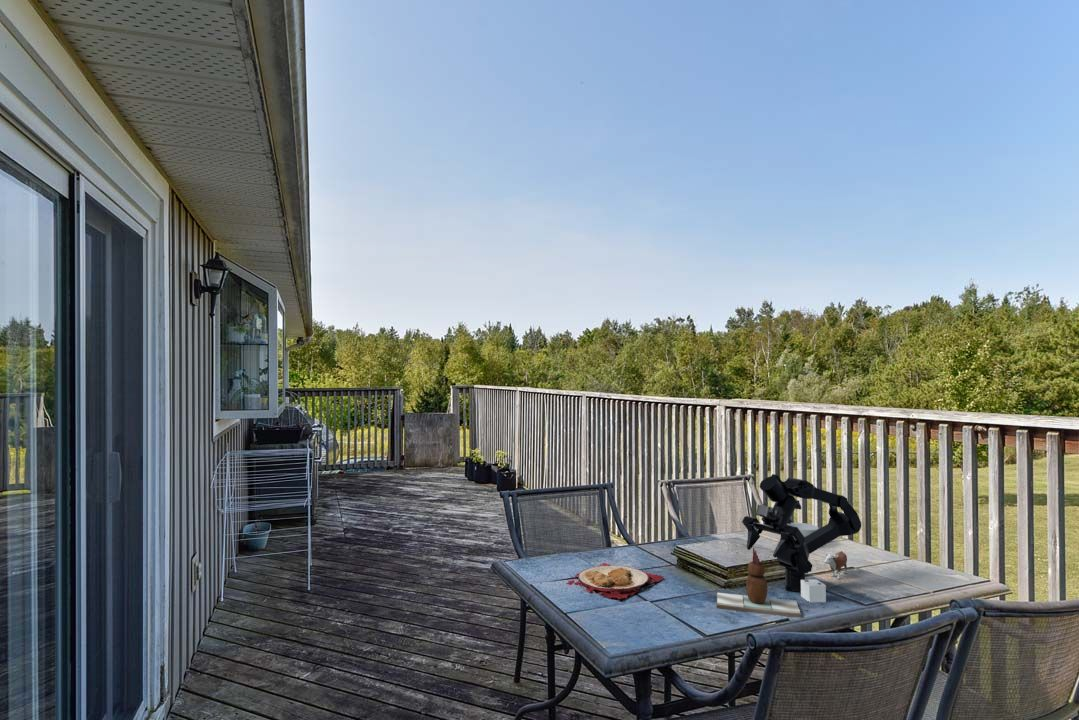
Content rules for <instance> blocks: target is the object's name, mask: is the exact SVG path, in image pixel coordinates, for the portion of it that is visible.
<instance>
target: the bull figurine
mask: <svg viewBox="0 0 1079 720" xmlns="http://www.w3.org/2000/svg"><path fill="white" fill-rule="evenodd" d="M847 561H848V556H847V554H846V553H845V552H844V551H843V550H841V551H838V552H836V553H835V554H830V553H828V554H825V559H824V561H823V562H824V564H826V565H827V564H828V565H829V567H830V569H831V575H830V577H831V578H834V577H835V574H837V576H836V579H837V580H841V571H842V568H843V567H844V574H845V575H847V574H848V565H847Z"/></svg>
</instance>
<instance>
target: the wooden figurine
mask: <svg viewBox="0 0 1079 720" xmlns="http://www.w3.org/2000/svg"><path fill="white" fill-rule="evenodd" d="M747 571H748V574H749V575H747V577H746V582H745V584H746V585H745V588H746V594H747V595H746V596H748V598H749V600H750V601H751V602H753V603H763V602H765V600H766V598H768V597H767V596H768V582H767V579H766V577H765V576H764V575H765V574H766V568H765V565H764V564H763V562H760V558H759V555H758V554H757V550H755V547H752V561H750V562H749V563H748V566H747Z"/></svg>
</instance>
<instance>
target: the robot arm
mask: <svg viewBox="0 0 1079 720" xmlns="http://www.w3.org/2000/svg"><path fill="white" fill-rule="evenodd" d="M759 488H760V490H761V491H762V493H764V495H765V496H766V497H767V498H768V499H769V500H770V501H771V502H773V503H774V505H773V507H771V506H767V505H763V504H758V505H757V509H756V513H755V515H756V516H759V517H760V518H761V521H762V522H763V523H761V522H760V521H759V519H758V518H757V517H754V516H748V515H746V516H744V517H743V519H742V521H741V523H742V524H743V526H744V527H745V528H746V529H747V541H746V549H747V550H748V551H750V550H751V549H753V548H754V546H755V544H756V543H757V542H758V540H759V539H760V537H761V534H762V533H763V532H768V533H772V534H776V535H780V539H779V541H778V543H777V545H776V546H775V547H776V548H775V549H774V551H773V554H772V556H773V558H777V559H776V560H777V561H778V565H779V566H780V567H784V568H785V581H784V582H782V583H783V587H784V590H785V591H788V592H799V593H801V580H806V574H809V573H810V572H812V568H813V564H812V562H811V561H810V560H809V557H810V554H812V553H814V552H815V551H817V550H819V549H820V548H822V547H824V546H825V545H827V544H829V543H830V542H832V541H834V540H836V539H837V538H839V537H846V536H847V537H849V536H852V535H855V534H858V533H859V532H860V530H861V528H862V521H861V519H860V517H859V514H858V512H857V511H856V509H854V508H853V506H852V505H851V504H850V503H849V501H848V498H847V497H846V496H844V495H842V494H837V493H833V492H830V491H828V490H824V489H822V488H818V487H817V486H815V485H814V483H811V482H810V481H808V480H807V479H806V480H805V479H800V478H796V477H787V479H786V480H783V481H782V480H781V477H780V476H779V475H778V474H774V473H772V474H771V476H767V477H765V478H763V480H761V482H760V484H759ZM796 498H800V499H804V500H806V499H808V500H811V499H812V500H815V501H818V502H822V503H824V504H828V505H829V509H828V515H829V519H828V523H826V524H825V525H823V526H821V527H820V528H819V529H818V530H816V531H815V532H813V533H811V534H809V535H808V536H806V537H804V536H803V534H802V533H801V531H800V530H799V529H798V527H793V526H789V525H787V524H788V523H789V524H791V523H793V521H792V519H791V517H792V516H793V513H794V512H795V510H802V505H801V503H800V500H797V499H796ZM837 508H839V509H840V510H841V512H840V511H838V509H837Z"/></svg>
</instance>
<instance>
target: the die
mask: <svg viewBox="0 0 1079 720" xmlns="http://www.w3.org/2000/svg"><path fill="white" fill-rule="evenodd" d="M826 589H827V587H826V584H825V583H823V582H821V581H820V580H818V579H805V580H801V592H800V597H801V598H803V600H806V601H807V602H808V601H809V602H808V603H827V590H826Z"/></svg>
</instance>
